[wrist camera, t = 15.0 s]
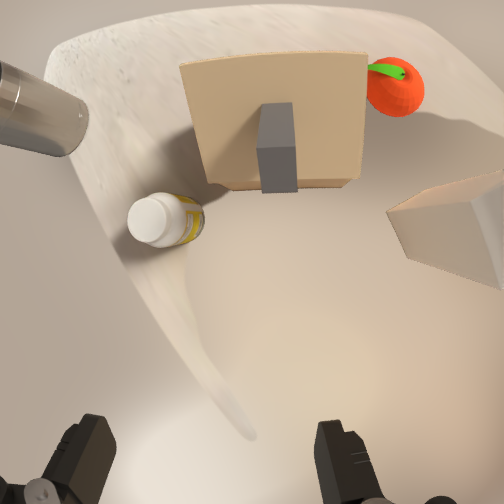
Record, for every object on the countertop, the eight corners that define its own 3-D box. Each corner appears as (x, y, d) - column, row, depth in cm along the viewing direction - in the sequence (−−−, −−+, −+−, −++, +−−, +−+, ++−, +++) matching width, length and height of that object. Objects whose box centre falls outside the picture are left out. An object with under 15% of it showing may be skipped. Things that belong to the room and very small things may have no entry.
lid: (209, 179, 25) (192, 238, 21) (181, 63, 18) (146, 99, 14) (358, 174, 24) (375, 234, 19) (365, 52, 16) (398, 85, 12)
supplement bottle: (155, 210, 37) (112, 206, 27) (194, 188, 36) (159, 177, 26) (173, 251, 37) (134, 260, 27) (213, 231, 36) (183, 233, 26)
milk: (406, 258, 33) (527, 305, 12) (384, 210, 33) (497, 198, 11) (447, 234, 32) (582, 251, 11) (426, 187, 32) (555, 155, 10)
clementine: (345, 112, 33) (355, 87, 26) (354, 64, 32) (364, 34, 25) (409, 132, 32) (431, 114, 25) (415, 84, 31) (435, 59, 24)
